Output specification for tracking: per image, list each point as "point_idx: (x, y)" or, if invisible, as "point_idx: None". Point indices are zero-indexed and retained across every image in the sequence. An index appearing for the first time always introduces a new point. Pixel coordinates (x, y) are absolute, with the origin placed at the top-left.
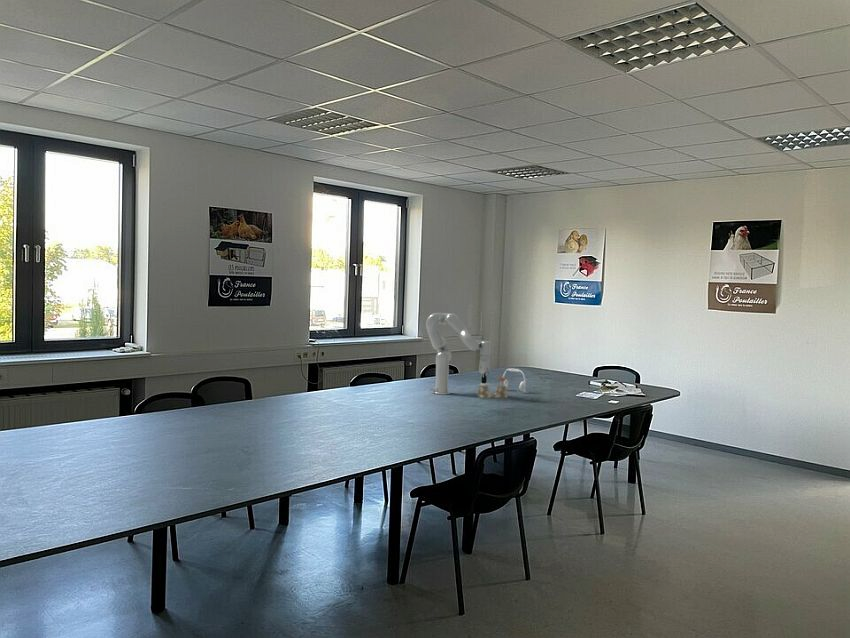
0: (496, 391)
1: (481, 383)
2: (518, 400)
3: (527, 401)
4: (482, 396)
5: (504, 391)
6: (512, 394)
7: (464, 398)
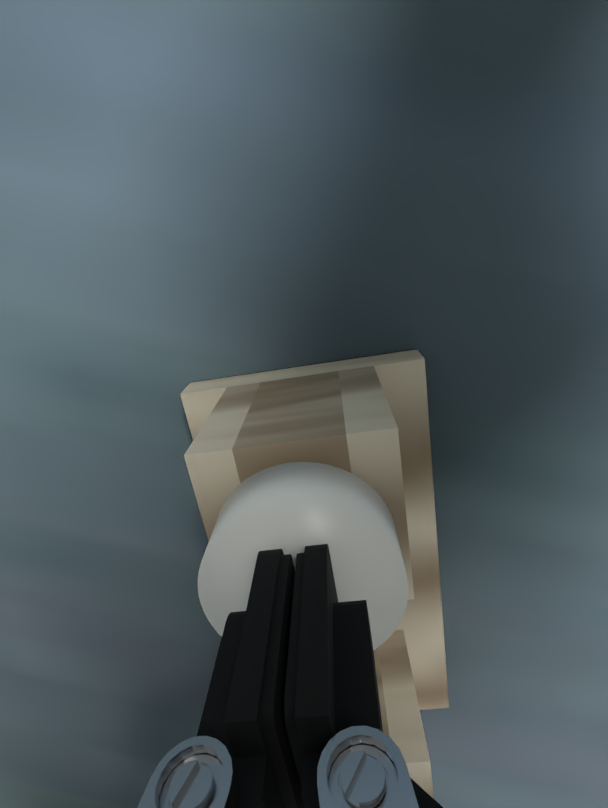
0: (389, 664)
1: (243, 516)
2: (113, 742)
3: (78, 793)
4: (184, 395)
5: None
6: (489, 781)
7: (72, 3)
